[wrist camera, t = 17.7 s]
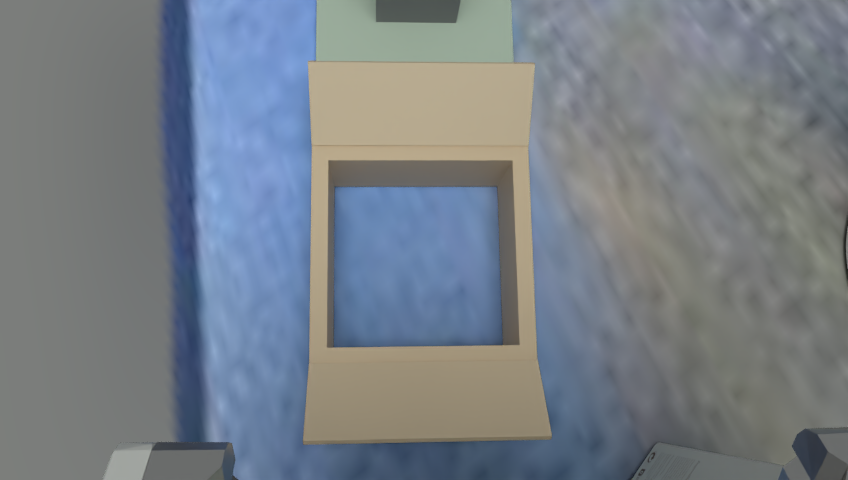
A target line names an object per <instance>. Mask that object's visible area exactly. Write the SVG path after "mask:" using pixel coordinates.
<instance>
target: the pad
mask: <svg viewBox="0 0 848 480" xmlns="http://www.w3.org/2000/svg"><path fill="white" fill-rule="evenodd" d="M316 61H399V62H513V37H512V12H511V0H461V1H460V6H459V11H458V16H457V21H456V23H410V22H376V0H317V24H316Z"/></svg>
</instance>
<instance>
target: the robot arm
mask: <svg viewBox="0 0 848 480" xmlns="http://www.w3.org/2000/svg"><path fill="white" fill-rule="evenodd" d="M846 258H847V267H848V228H847V236H846ZM792 448H793V449H794V451H795V453H796V455H797V457H796V458H794V459H793V460H792V461H790V462H789V463H787V464H786V465H785V466H783V467H782V470H781V473H780V476H779V478H778V480H848V427H840V428H812V429H804V430H803V431H801V432H800V433H799V434H797V436H796V438H795V441H794V443H793V445H792ZM234 464H235V455H234V451H233V446H232V443H229V442H157V443H119V445H118V446H117V447H116V449H115V450H114V451H113V452H112V455H111V457H110V460H109V463H108V465H107V468H106V471H105V473H104V476H103V479H102V480H238V479H237V478H235V477H234V476H233V469H234Z"/></svg>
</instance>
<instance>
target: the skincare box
mask: <svg viewBox="0 0 848 480" xmlns="http://www.w3.org/2000/svg"><path fill="white" fill-rule="evenodd" d="M783 466H784V465H778V464H773V463H767V462H762V461H757V460H751V459H746V458H740V457H735V456H729V455H725V454H720V453H714V452H708V451H703V450H698V449H692V448H687V447H681V446H676V445H671V444H665V443H660V442H658V443H656V445H655V446H654V447H653V449H652V450H651V452H650V453H649V454H648V456H647V457H646V459H645V460H644V462H643V463H642V465H641V466H640V468H639V469H638V471H637V472H636V474H635V475H634V477H633V478H632V479H631V480H778V478H779V476H780V473H781V470H782V467H783Z"/></svg>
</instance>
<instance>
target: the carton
mask: <svg viewBox="0 0 848 480" xmlns="http://www.w3.org/2000/svg"><path fill="white" fill-rule="evenodd" d="M534 69H535V63H523V62H399V61H308V72H309V95H310V118H311V141H312V180H311V262H310V343H309V370H308V383H307V395H306V408H305V421H304V434H303V445H309V444H358V443H406V442H455V441H504V440H551V438H552V433H551V428H550V422H549V417H548V412H547V406H546V401H545V396H544V390H543V385H542V380H541V374H540V369H539V364H538V360H537V342H536V318H535V295H534V272H533V249H532V226H531V203H530V179H529V156H528V146H529V134H530V121H531V108H532V95H533V82H534ZM335 187H497V191H498V220H499V249H500V277H501V306H502V334H503V345H490V346H415V347H339V348H334V202H335Z"/></svg>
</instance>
